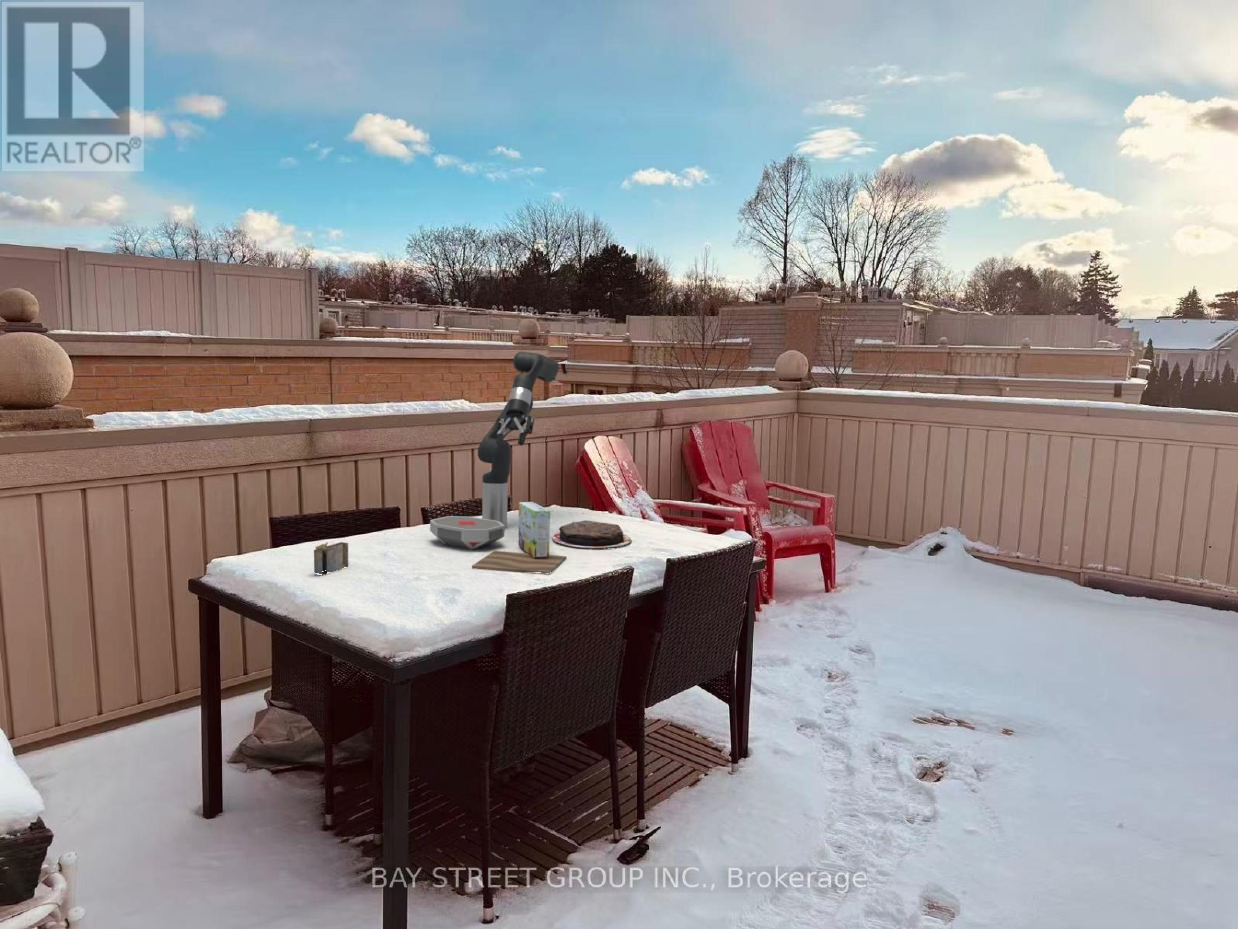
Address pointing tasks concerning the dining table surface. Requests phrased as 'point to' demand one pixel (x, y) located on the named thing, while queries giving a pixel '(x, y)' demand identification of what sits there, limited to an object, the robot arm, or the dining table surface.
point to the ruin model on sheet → (330, 557)
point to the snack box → (534, 529)
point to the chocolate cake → (591, 535)
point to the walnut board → (518, 562)
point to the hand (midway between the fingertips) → (509, 445)
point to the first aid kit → (467, 531)
